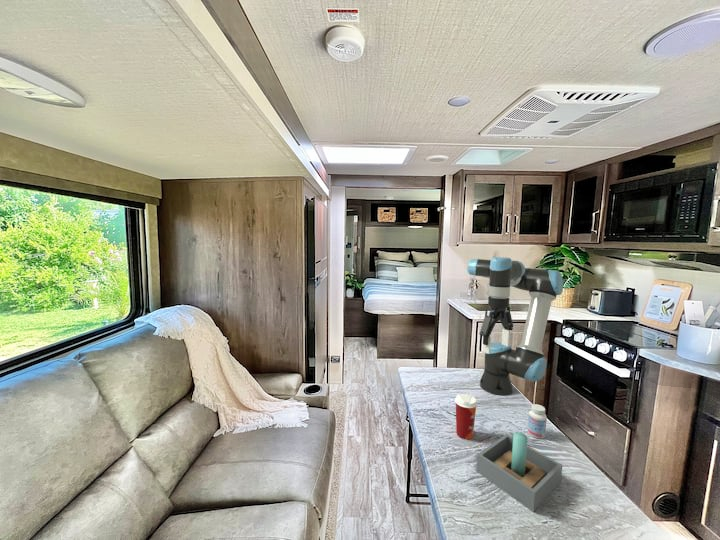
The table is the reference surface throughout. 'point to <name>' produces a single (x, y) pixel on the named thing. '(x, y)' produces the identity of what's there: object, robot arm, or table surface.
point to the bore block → (531, 471)
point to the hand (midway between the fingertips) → (496, 348)
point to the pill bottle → (537, 421)
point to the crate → (511, 483)
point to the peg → (519, 454)
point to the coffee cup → (465, 415)
